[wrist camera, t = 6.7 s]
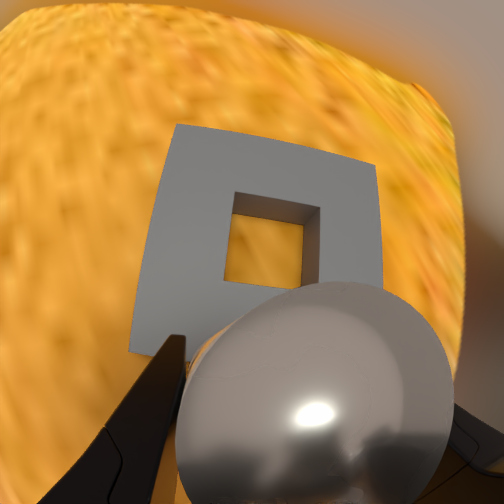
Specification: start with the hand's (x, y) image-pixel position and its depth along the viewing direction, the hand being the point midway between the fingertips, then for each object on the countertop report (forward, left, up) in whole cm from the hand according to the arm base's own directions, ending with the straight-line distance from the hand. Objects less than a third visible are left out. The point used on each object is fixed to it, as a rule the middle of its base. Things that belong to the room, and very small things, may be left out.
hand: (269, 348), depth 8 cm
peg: (-1, -1, -7) cm, 7 cm away
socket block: (+7, +2, -13) cm, 15 cm away
